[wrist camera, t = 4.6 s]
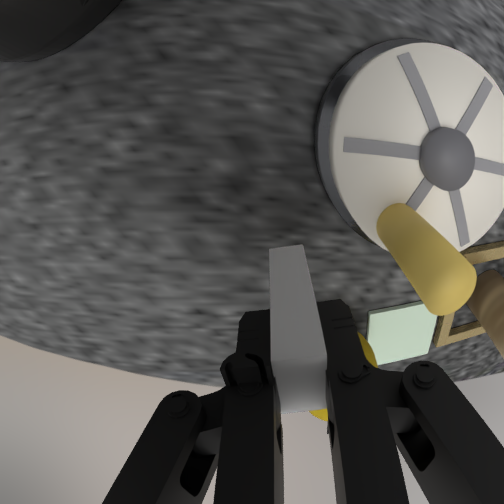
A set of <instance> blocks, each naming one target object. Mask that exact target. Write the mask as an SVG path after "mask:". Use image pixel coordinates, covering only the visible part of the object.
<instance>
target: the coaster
mask: <svg viewBox="0 0 504 504" xmlns="http://www.w3.org/2000/svg"><path fill="white" fill-rule="evenodd" d="M436 319H437V315H434V314H432V313H430V312H429V311H428V310H427V308H426V306H425V305H424V303H423V302H422V301H418V302H414V303H409V304H404V305H399V306H394V307H389V308H383V309H378V310H373V311H368V326H367V339H366V340H367V342H368V343H369V344H370V346H371V347H372V349H373V352H374V354H375V358H376V361H377V365H380V364H385V363H390V362H394V361H399V360H403V359H407V358H411V357H415V356H419V355H423V354H427V353H428V350H429V346H430V343H431V339H432V335H433V331H434V327H435V323H436Z"/></svg>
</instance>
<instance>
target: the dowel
mask: <svg viewBox="0 0 504 504" xmlns="http://www.w3.org/2000/svg"><path fill="white" fill-rule="evenodd" d="M466 304H467V306H468V307H469V309H470V310H471V311H472V313H473V314H474V315H475V317H476V318H477V320H478V321H479V322H480V324H481V325H482V327H483V328H484V330H485V331H486V332H487V334H488V335H489V337H490V338H491V340H492V341H493V343H494V344H495V346H496V347H497V349H498V350H499V352H500V354H501V355H502V357H503V358H504V278H503V277H502V276H501V275H500V274H499V273H498V272H497V271H495V270H488V271H485V272H483V273H482V274H480V275H479V276H478V277H477V281H476V286H475V289H474V291H473V293H472V295H471V296H470V298H469V299H468V301H467V302H466Z"/></svg>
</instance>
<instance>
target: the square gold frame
mask: <svg viewBox="0 0 504 504" xmlns="http://www.w3.org/2000/svg"><path fill="white" fill-rule="evenodd" d="M460 253H461V254H462V255H463V256H464V257H465V258H466V259H467V260H468V261H469V263H470V264H471V265H473V264H477V263H482V262H486V261H491V260H495V259H499V258H504V241H500V242H495V243H490V244H485V245H480V246H474V247H469V248H466V249H464V250H462V251H460ZM454 314H455V312H453V313H450V314H448V315H443V316H439V319H438V324H437V328H436V332H435V335H434V339H433V342H434V344H435V346H436V347H439V346H443V345H446V344H450V343H453V342H457V341H460V340H463V339H466V338H470V337H473V336H476V335H479V334H482V333H485V332H486V331H485V330H484V328H483V327H482V325H481V324H480V322H479V321H476V322H473V323H469V324H466V325H463V326H459V327H456V328H452V329H450V328H451V325H452V321H453V318H454Z"/></svg>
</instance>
